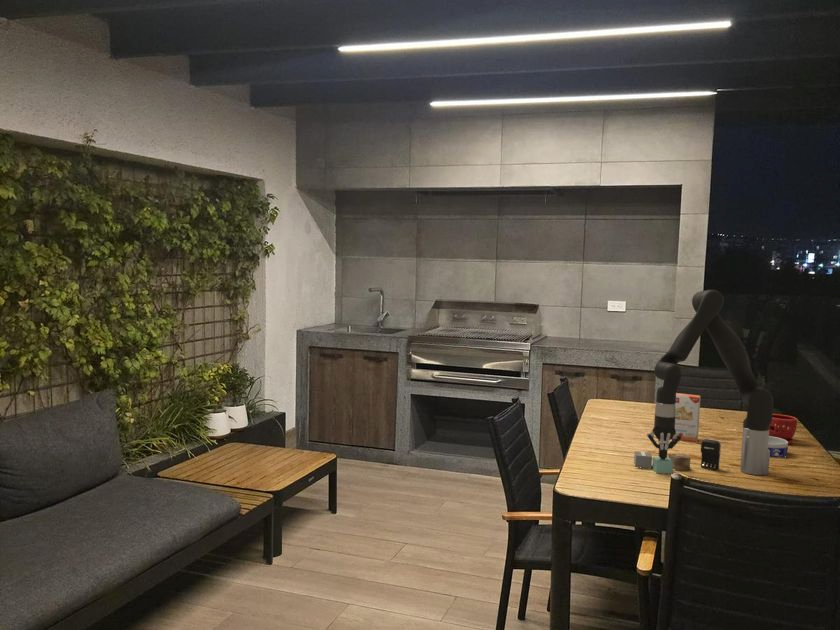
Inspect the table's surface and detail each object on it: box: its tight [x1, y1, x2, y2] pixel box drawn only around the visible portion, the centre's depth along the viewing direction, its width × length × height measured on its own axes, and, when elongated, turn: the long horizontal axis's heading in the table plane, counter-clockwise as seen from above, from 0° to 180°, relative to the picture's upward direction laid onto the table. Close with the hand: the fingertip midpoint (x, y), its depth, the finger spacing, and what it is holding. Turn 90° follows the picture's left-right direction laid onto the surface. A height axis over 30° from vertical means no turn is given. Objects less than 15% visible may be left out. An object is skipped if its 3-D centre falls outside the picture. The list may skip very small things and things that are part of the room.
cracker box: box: [671, 392, 702, 443], centre depth 323 cm, size 14×6×21 cm, turn 62°
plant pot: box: [769, 413, 798, 445], centre depth 323 cm, size 13×13×12 cm
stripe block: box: [633, 451, 653, 469], centre depth 278 cm, size 6×6×5 cm
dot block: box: [668, 453, 691, 471], centre depth 277 cm, size 6×6×5 cm
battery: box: [700, 438, 722, 471], centre depth 277 cm, size 7×4×11 cm, turn 49°
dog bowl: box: [768, 436, 789, 458], centre depth 304 cm, size 15×15×6 cm
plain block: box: [651, 456, 674, 475], centre depth 272 cm, size 6×6×5 cm
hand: (662, 458), depth 271 cm, fingers closed
